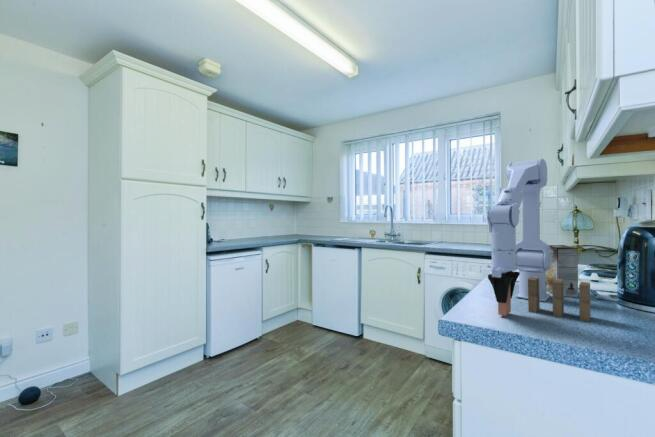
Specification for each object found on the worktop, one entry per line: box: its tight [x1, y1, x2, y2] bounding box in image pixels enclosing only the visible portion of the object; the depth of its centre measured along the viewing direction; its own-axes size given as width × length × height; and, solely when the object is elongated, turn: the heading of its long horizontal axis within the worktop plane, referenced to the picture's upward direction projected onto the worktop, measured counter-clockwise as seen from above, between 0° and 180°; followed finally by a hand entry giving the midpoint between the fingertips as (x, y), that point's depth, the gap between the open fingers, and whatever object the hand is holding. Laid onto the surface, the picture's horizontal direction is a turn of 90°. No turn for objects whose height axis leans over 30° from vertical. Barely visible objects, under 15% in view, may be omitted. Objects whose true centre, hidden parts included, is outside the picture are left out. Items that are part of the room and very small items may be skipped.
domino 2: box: [527, 277, 541, 314], centre depth 86 cm, size 5×2×9 cm, turn 136°
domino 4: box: [578, 281, 591, 323], centre depth 78 cm, size 5×2×9 cm, turn 136°
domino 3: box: [552, 279, 565, 318], centre depth 82 cm, size 5×2×9 cm, turn 136°
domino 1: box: [497, 286, 512, 317], centre depth 82 cm, size 5×2×9 cm, turn 136°
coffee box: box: [546, 244, 579, 298], centre depth 103 cm, size 9×6×16 cm
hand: (504, 300), depth 82 cm, fingers closed on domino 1, 5 cm apart
